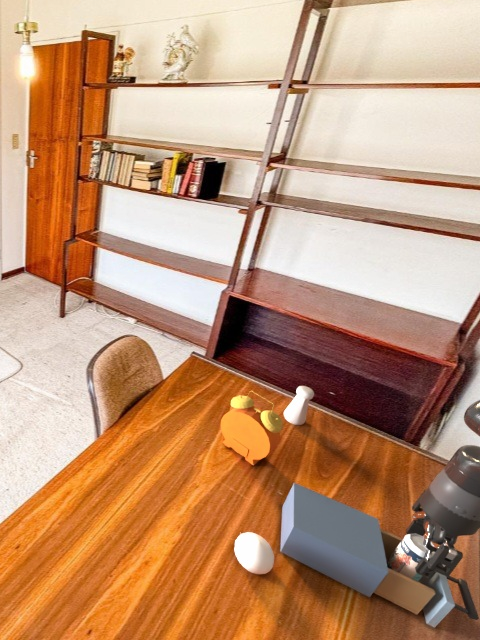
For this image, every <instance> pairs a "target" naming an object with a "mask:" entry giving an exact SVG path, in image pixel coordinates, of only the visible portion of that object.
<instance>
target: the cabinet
mask: <svg viewBox="0 0 480 640" xmlns="http://www.w3.org/2000/svg"><path fill="white" fill-rule="evenodd" d="M380 529H381V525H380V519H379V518H378V517H374V516H373V515H370V514H367V513H366V512H363V511H361V510H359V509H356V508H354V507H352V506H349V505H347V504H345V503H342V502H341V501H338V500H336V499H333V498H331V497H328V496H327V495H324V494H322V493H320V492H317V491H315V490H312V489H310V488H307V487H306V486H303V485H301V484H299V483H296V482H293V483H292V486H291V488H290V490H289V492H288V494H287V496H286V498H285V501H284V503H283V505H282V508H281V529H280V550H279V552H280V553H281V554H284V555H286V556H288V557H289V558H291V559H293V560H295V561H298V562H299V563H301V564H303V565H305V566H307V567H309V568H310V569H311V568H312V569H313V570H315V571H317V572H319V573H321V574H323V575H325V576H326V577H328V578H331V579H332V580H334V581H337V582H338V583H341V584H342V585H344V586H346V587H348V588H349V589H352V590H354V591H356V592H357V593H360V594H362V595H363V596H366V597H367V598H371V596H372V594H374V593H373V592H374V591H375V590H376V588H377V587H378V586H379V584H380V583H381V582H382V580H383V579H384V578H385V576H386V575H387V574H388V568H387V562H386V557H385V551H384V546H383V541H382V535H381V530H380Z"/></svg>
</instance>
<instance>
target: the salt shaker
mask: <svg viewBox="0 0 480 640" xmlns="http://www.w3.org/2000/svg"><path fill="white" fill-rule="evenodd" d="M295 393H296V395H295V397H294V398H293V399H292V400H291V401H290V403H289V404H288V405H287V407H286V408H285V410H284V411H283V418H284V419H285V420H286V422H288V423H290V424H292V425H294V426H302V425H304V424H305V422H306V421H307V416H308V409H309V403H310V400H313V398H314V396H315V391H314V390H313V389H312V388H311V387H308V386H306V385H299V386H298V387H297V388H296V391H295Z"/></svg>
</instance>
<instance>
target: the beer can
mask: <svg viewBox="0 0 480 640" xmlns="http://www.w3.org/2000/svg"><path fill="white" fill-rule="evenodd" d="M424 537H425V535H423V536H421V535H418V534H416V533H415V534H408V535H407V534H406V535H404V537H402V538H403V540H402V541H401V542H400V544H399V545H398V546H397V548H396V549H395V551H394V552H393V553H392V555H391V556H390V558H389V559H388V560H387V568H389V569H391V570H393V571H396V572H398V573H400V574H402V575H404V576H406V577H408V578H410V579H412V580H415V581H417V582H418V581H419V580H420V579H421V577H422V575H420V574H418V573H417V572H416V570H415V567H416V566H417V565H418V563H419V562H420V561H421V559H422V558H423V557H424V554H425V550H426V548H425V547H424V546H423V541H424ZM431 545H432V546H434V547H436V546H435V545H434V543H433V542H432V541H431ZM434 554H435V552H432V555H431V557H433V555H434Z"/></svg>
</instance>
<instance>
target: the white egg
mask: <svg viewBox="0 0 480 640" xmlns="http://www.w3.org/2000/svg"><path fill="white" fill-rule="evenodd" d="M233 549H234V554H235V557H236V558H237V561H238V563H239V564H240V565H241V566H242V567H243V568H244V569H245V570H246V571H248V572H250V573H252V574H254V575H266V574H267V573H269V572H270V571H271V570H272V569H273V568H274V565H275V555H274V551H273V548H272V546H271V545H270V543H269V542H268V541H267V540H266V539H265V538H264V537H263V536H262V535H259V534H257V533H254V532H252V531H251V532H243V533H240V534H239V535H238V536H237V537H236V538H235V540H234V548H233Z"/></svg>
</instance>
